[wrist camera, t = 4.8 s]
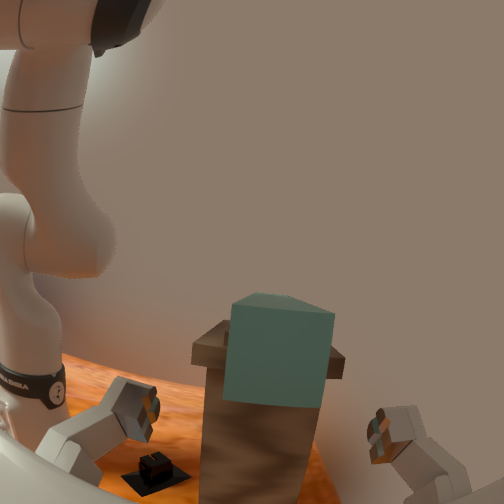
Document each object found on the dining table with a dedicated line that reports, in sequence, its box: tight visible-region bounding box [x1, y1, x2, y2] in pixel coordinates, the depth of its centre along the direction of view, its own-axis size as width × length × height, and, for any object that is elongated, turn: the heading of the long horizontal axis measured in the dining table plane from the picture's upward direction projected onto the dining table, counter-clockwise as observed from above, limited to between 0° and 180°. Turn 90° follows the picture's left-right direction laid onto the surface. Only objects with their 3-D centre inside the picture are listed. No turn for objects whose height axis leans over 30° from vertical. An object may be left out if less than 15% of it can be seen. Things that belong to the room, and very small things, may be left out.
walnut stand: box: [191, 320, 345, 504], centre depth 23 cm, size 10×14×28 cm
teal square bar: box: [222, 292, 335, 408], centre depth 20 cm, size 4×22×4 cm, turn 177°
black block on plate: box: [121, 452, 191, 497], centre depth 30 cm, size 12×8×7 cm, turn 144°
